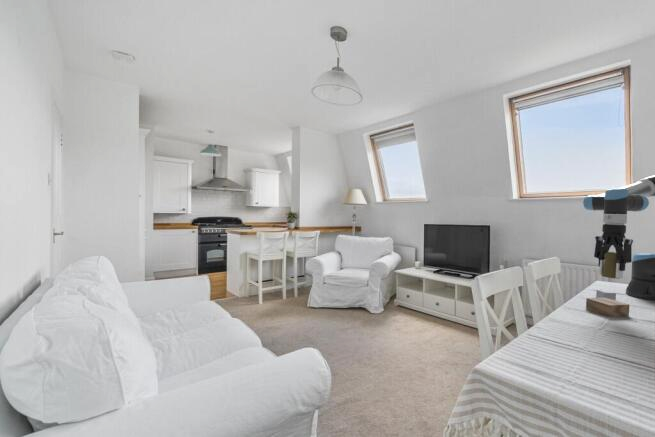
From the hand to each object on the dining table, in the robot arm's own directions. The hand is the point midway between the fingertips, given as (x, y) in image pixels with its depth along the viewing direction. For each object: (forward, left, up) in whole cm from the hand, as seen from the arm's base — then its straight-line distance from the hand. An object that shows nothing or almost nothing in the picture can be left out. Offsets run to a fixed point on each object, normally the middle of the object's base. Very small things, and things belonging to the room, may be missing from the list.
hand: (610, 275), depth 133 cm
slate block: (-12, -11, -16) cm, 24 cm away
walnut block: (+1, 0, -16) cm, 16 cm away
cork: (0, 0, -1) cm, 1 cm away
